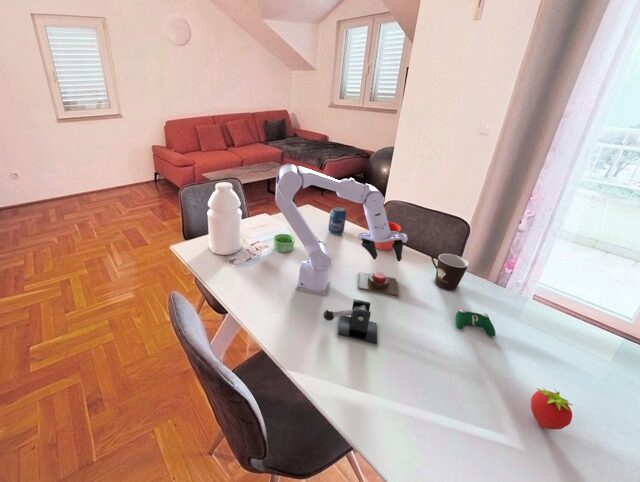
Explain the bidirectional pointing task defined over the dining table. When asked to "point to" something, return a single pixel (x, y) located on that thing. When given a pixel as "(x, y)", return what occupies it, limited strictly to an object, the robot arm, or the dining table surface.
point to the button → (379, 277)
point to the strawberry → (550, 410)
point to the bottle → (224, 220)
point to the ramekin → (283, 242)
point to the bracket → (359, 324)
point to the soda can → (337, 220)
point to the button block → (378, 284)
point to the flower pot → (388, 244)
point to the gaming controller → (474, 321)
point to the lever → (341, 313)
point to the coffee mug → (449, 271)
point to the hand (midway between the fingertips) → (387, 258)
